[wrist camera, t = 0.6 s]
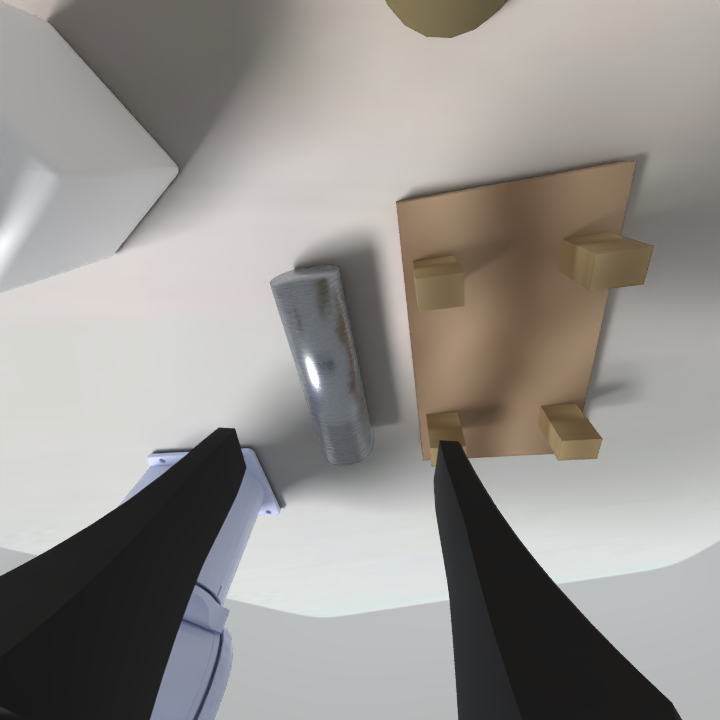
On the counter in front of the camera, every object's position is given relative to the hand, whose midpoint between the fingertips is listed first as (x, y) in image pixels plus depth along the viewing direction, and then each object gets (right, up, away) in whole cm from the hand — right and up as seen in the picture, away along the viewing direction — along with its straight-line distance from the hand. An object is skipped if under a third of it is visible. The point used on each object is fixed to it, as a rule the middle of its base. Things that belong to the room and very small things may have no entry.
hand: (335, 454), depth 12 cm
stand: (+9, +4, +8) cm, 13 cm away
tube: (-1, +3, +10) cm, 10 cm away
